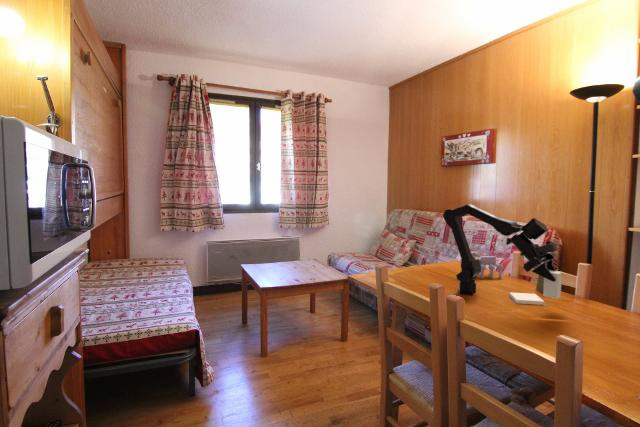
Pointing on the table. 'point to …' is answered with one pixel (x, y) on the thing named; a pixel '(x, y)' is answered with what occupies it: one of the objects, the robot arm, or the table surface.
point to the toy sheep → (487, 261)
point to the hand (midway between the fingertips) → (556, 279)
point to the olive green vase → (540, 284)
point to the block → (553, 286)
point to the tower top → (526, 298)
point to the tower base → (524, 304)
